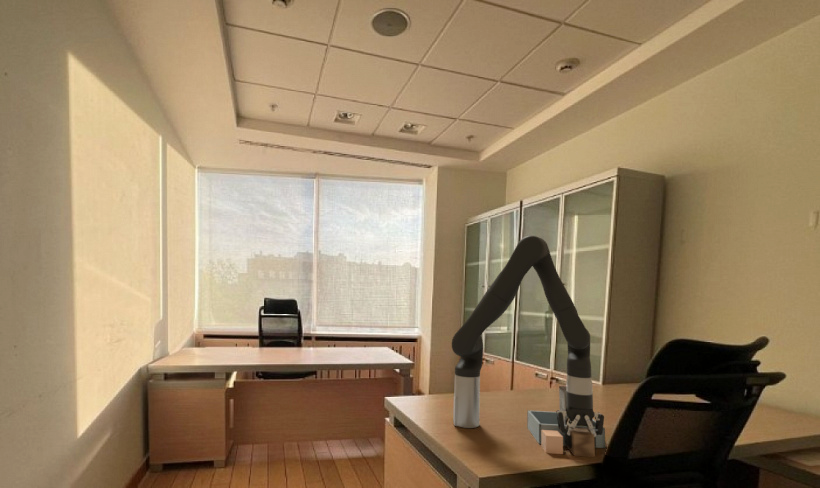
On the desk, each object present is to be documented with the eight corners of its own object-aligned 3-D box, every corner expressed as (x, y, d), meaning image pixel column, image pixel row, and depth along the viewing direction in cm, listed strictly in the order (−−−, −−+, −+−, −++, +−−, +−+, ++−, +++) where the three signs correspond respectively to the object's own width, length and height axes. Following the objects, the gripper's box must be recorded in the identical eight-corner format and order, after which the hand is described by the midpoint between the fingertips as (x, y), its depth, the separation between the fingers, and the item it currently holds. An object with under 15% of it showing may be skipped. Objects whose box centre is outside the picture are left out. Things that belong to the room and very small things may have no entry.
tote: (539, 443, 119) (538, 424, 120) (527, 427, 134) (527, 410, 135) (605, 448, 118) (604, 428, 119) (586, 431, 133) (585, 413, 133)
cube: (546, 453, 113) (546, 435, 113) (541, 446, 118) (541, 429, 118) (563, 454, 112) (562, 436, 113) (557, 447, 117) (557, 430, 118)
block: (574, 455, 112) (573, 434, 112) (567, 447, 118) (566, 427, 118) (594, 456, 111) (594, 435, 112) (586, 448, 117) (586, 428, 118)
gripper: (559, 392, 114) (560, 451, 111) (608, 395, 113) (610, 454, 110) (552, 386, 121) (552, 441, 119) (597, 389, 120) (599, 444, 118)
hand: (580, 447), depth 115 cm, fingers closed on block, 6 cm apart
